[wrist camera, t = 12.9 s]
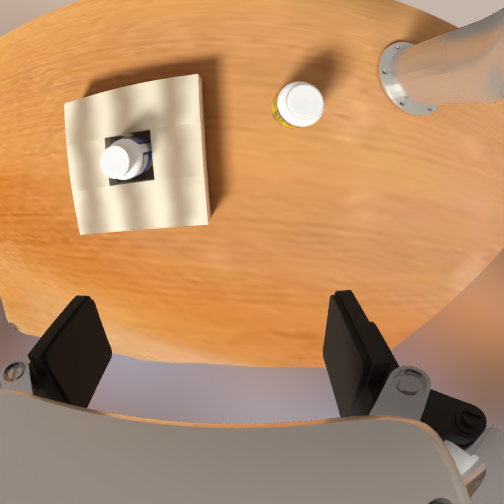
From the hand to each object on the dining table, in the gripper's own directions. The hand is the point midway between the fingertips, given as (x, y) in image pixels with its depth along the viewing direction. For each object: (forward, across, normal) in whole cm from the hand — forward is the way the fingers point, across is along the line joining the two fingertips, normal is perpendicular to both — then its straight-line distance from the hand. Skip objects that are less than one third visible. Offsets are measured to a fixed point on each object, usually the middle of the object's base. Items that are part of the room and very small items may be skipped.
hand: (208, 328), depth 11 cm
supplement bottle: (+33, -8, -10) cm, 36 cm away
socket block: (+33, +14, -5) cm, 36 cm away
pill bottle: (+32, +14, -5) cm, 35 cm away
